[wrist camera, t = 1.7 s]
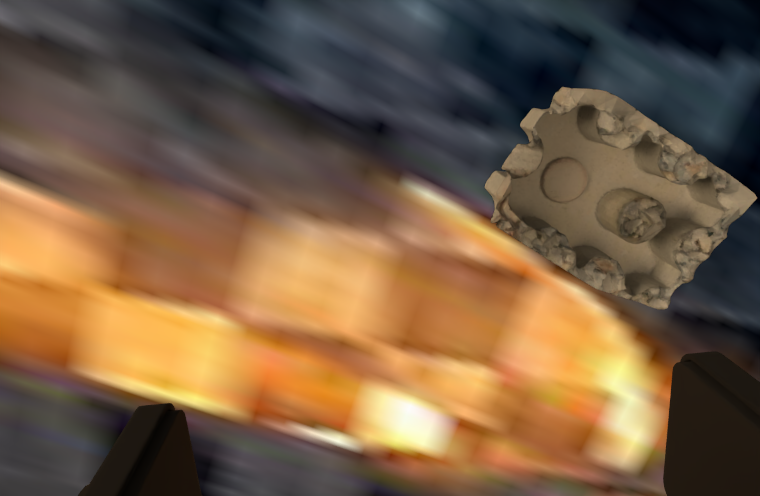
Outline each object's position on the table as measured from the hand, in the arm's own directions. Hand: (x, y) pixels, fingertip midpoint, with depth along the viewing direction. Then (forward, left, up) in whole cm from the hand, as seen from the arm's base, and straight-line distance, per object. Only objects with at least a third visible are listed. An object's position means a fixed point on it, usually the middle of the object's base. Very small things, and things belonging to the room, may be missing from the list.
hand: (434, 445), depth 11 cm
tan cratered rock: (0, +11, -19) cm, 21 cm away
